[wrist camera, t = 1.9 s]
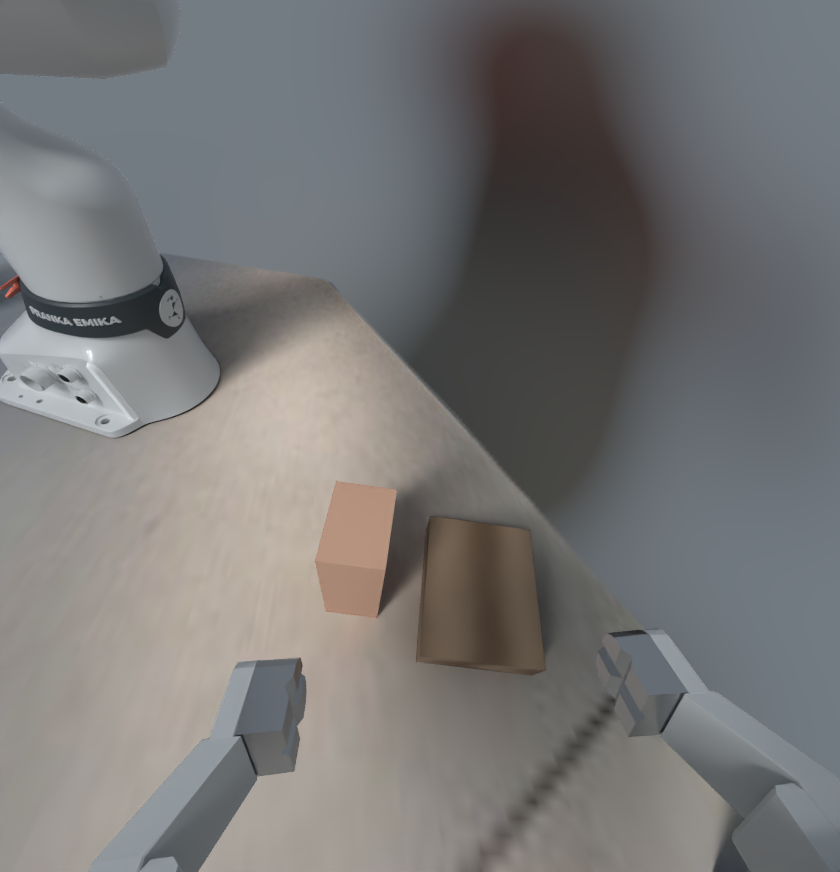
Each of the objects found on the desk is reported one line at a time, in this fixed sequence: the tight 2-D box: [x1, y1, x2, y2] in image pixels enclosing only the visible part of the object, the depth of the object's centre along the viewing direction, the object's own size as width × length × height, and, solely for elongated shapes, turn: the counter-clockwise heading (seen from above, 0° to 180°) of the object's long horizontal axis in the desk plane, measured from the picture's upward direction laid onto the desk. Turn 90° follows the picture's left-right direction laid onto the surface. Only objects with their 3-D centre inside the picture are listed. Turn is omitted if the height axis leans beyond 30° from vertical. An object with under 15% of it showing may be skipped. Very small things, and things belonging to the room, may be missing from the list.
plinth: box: [416, 516, 546, 675], centre depth 34 cm, size 10×12×3 cm
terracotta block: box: [315, 481, 397, 618], centre depth 30 cm, size 4×6×12 cm
